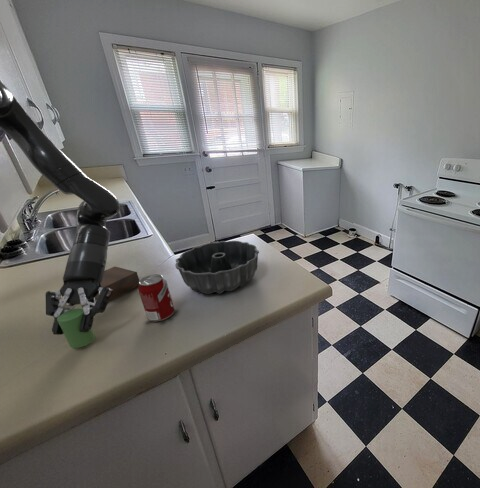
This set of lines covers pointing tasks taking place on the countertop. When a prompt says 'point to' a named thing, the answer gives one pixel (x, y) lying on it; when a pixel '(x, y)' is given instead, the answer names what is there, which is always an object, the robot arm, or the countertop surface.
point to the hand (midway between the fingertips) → (71, 332)
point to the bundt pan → (218, 266)
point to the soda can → (156, 297)
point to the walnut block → (119, 281)
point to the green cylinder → (74, 328)
